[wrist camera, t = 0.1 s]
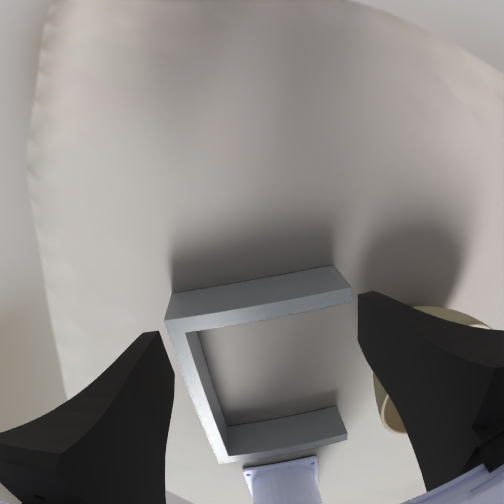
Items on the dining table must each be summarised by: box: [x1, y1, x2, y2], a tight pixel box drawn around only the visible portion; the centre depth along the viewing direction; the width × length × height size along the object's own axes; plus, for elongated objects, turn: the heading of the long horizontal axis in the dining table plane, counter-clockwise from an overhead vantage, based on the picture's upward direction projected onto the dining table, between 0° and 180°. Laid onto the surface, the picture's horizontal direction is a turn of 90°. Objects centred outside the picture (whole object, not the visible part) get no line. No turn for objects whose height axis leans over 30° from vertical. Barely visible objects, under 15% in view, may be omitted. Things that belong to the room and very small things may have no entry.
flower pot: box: [373, 306, 493, 435], centre depth 21 cm, size 10×10×7 cm
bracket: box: [164, 265, 352, 463], centre depth 22 cm, size 15×11×4 cm
